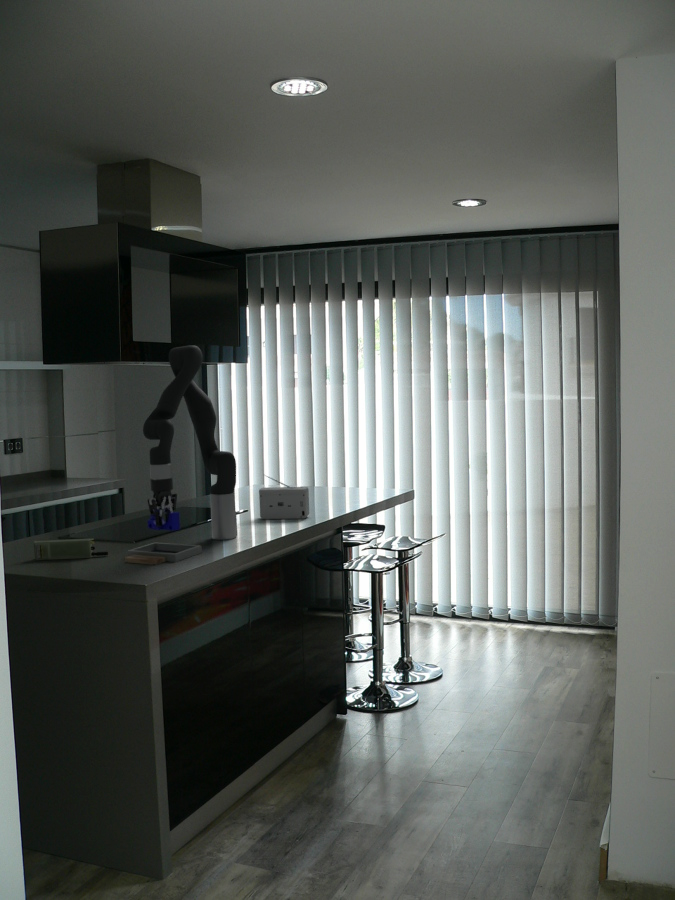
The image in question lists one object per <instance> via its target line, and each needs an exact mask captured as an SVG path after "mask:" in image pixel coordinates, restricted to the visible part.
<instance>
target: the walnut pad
mask: <svg viewBox="0 0 675 900" xmlns="http://www.w3.org/2000/svg"><path fill="white" fill-rule="evenodd" d="M124 562H125V563H130V564H132V563H133V564H143V565H153V564H157V565H159V563H160V564H162V562H163V563H164V562H166V561H165V557H157V556H144V555H132V556H129V557H127V556H126V557H124Z"/></svg>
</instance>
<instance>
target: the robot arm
mask: <svg viewBox="0 0 675 900" xmlns="http://www.w3.org/2000/svg"><path fill="white" fill-rule="evenodd" d="M203 357H204V356H203V352H202V350H201V349H200V348H199V346H197V345H190V344H189V345H183V346H176V347H173V348H171V349H170V350H169V353H168V362H169V366H170V368H171V370H172V373H173V375H174V379H173V380H172V381H171V382H170V383H169V384H168V385H167V386H166V387H165V389H164V390H163V392H162V393H161V395H160V398H159V400H158V402H157V404H156V407H155V408H154V409H153V410H152V412H151V413H149V415H148V416H147V418H146V420H145V422H144V423H143V426H142V433H143V436H144V437H145V438H146V439H147V440H150V441H154V440H155V441H156V440H159V443H158V446H154V447H151V448H150V449H149V464H150V465H149V477H150V491H151V492H153V496H152V498H148V499H147V504H148V505H147V506H148V509H149V513H150V516H151V515H153V516H155V521H156V527H162V526H163V525H162V518H163V516H162V514H163V510H164V513H165V514H164V517H165V518H164V519H165V522H166V523H167V522H168V520H169V513H173V512H176V509H177V501H178V500H177V499H178V493H172V490H173V489H174V485H173V484H174V481H173V469H172V464H171V463H172V461H171V460H172V459H171V448H172V443H173V439H174V434H175V427H174V424H173V422H172V421H171V419H173V418H175V416H176V414H177V411H178V409H179V406H180V405H181V402H182V400H183V399H184V402H185V405H186V407H187V411H188V415H189V418H190V421H191V423H192V425H193V429H194V431H195V435H196V438H197V442H198V444H199V449H200V452H201V457H202V461H203V466H204V468H205V470H206V471H207V472H208V473H209V474H210V475H212V476H213V475H214V476H216V482H214V484H211V485H210V486H209V497H210V499H209V501H210V518H211V520H210V521H211V538H212V539H213V540H220V541H221V540H233V539H235V538H237V536H238V525H237V522H238V519H237V511H236V501H235V500H236V498H235V488H236V485H237V460H236V457H235V456H234V454H233V453H232V452H230V451H225V450H224V451H223V450H219V448H218V445H217V442H216V438H215V432H216V425H217V415H216V411H215V408H214V405H213V402H212V400H211V398H210V397H209V396H208V394H206V393H205V391H203V390H202V389H201V387H200V386H198V385H197V384H196V382H195V380H194V378H195V376H196V375H197V373H198V372H199V370H200V369H201V367H202V364H203ZM153 510H154V512H153ZM158 510H159V513H158Z"/></svg>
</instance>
